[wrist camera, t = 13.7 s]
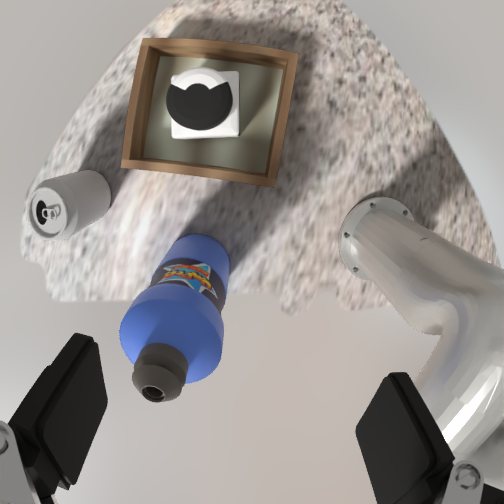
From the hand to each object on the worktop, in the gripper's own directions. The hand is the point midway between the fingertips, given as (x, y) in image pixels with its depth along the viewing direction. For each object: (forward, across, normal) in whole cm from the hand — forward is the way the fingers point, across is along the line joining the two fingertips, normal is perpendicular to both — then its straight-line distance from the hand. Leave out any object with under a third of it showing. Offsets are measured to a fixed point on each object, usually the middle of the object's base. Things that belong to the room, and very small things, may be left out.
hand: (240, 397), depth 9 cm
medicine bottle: (+33, +6, -11) cm, 35 cm away
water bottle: (+34, +5, +10) cm, 35 cm away
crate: (+33, +6, -11) cm, 36 cm away
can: (+34, +22, +2) cm, 40 cm away
